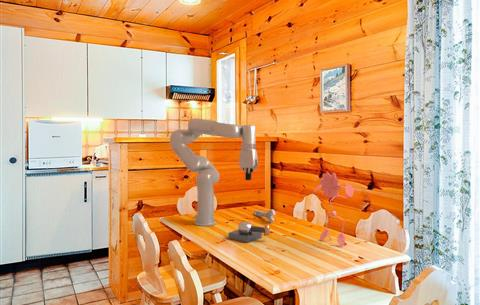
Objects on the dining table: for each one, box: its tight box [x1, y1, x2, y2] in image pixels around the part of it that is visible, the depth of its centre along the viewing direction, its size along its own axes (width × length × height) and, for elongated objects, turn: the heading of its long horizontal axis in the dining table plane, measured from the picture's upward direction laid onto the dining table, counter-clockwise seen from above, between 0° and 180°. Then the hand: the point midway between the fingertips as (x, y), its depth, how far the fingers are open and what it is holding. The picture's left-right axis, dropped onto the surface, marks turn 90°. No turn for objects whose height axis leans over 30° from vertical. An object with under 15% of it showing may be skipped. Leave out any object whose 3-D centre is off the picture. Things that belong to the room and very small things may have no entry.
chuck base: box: [228, 229, 263, 244], centre depth 182 cm, size 12×12×3 cm
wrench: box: [253, 209, 277, 223], centre depth 224 cm, size 8×2×30 cm
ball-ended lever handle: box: [237, 221, 270, 236], centre depth 179 cm, size 16×7×4 cm, turn 66°
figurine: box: [312, 171, 355, 252], centre depth 171 cm, size 15×26×35 cm, turn 33°
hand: (248, 180), depth 201 cm, fingers closed
